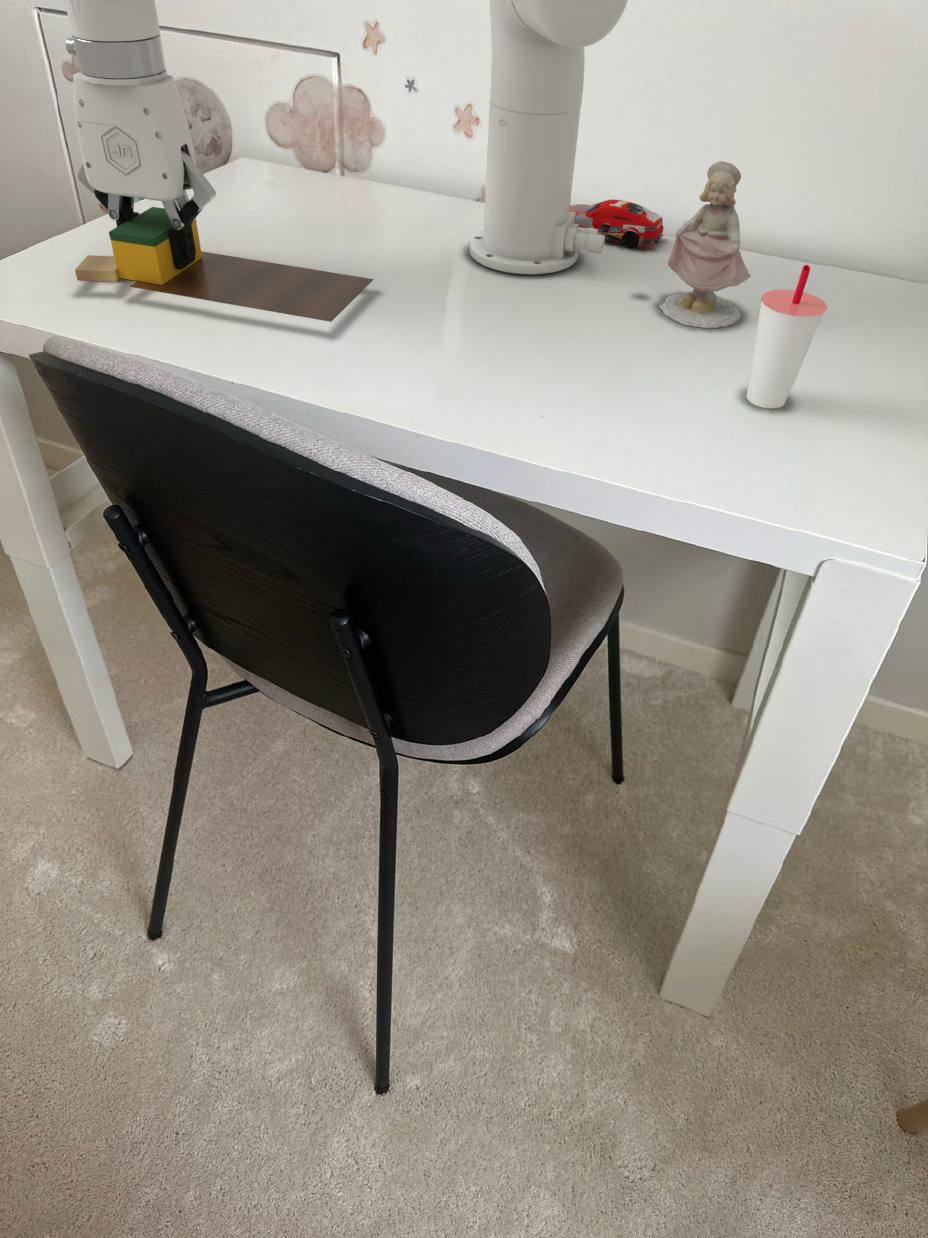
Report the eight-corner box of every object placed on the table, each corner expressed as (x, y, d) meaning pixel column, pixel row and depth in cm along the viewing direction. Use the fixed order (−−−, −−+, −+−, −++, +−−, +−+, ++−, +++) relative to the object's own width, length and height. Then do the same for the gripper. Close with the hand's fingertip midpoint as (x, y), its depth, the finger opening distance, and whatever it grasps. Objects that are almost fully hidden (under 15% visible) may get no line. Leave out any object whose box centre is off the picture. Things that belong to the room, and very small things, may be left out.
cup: (796, 418, 77) (840, 281, 69) (733, 408, 78) (769, 272, 70) (796, 390, 81) (838, 257, 73) (736, 380, 82) (771, 248, 74)
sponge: (202, 257, 96) (195, 212, 92) (162, 285, 90) (153, 238, 87) (161, 250, 96) (152, 206, 93) (119, 277, 91) (108, 231, 88)
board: (374, 292, 94) (373, 278, 93) (332, 335, 86) (331, 321, 85) (188, 262, 98) (185, 248, 97) (132, 300, 90) (129, 286, 89)
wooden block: (131, 280, 94) (126, 256, 92) (119, 295, 91) (114, 271, 90) (93, 278, 94) (87, 254, 92) (80, 294, 91) (74, 269, 89)
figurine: (628, 318, 90) (660, 152, 84) (637, 311, 99) (667, 161, 92) (737, 335, 88) (778, 166, 82) (736, 326, 97) (773, 174, 90)
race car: (547, 234, 109) (550, 199, 106) (563, 220, 112) (566, 186, 110) (652, 253, 105) (658, 218, 102) (664, 239, 108) (670, 204, 106)
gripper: (13, 56, 79) (68, 261, 92) (183, 76, 76) (216, 286, 88) (65, 41, 85) (110, 237, 97) (226, 59, 81) (251, 259, 94)
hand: (160, 258), depth 93 cm, fingers closed on sponge, 5 cm apart
